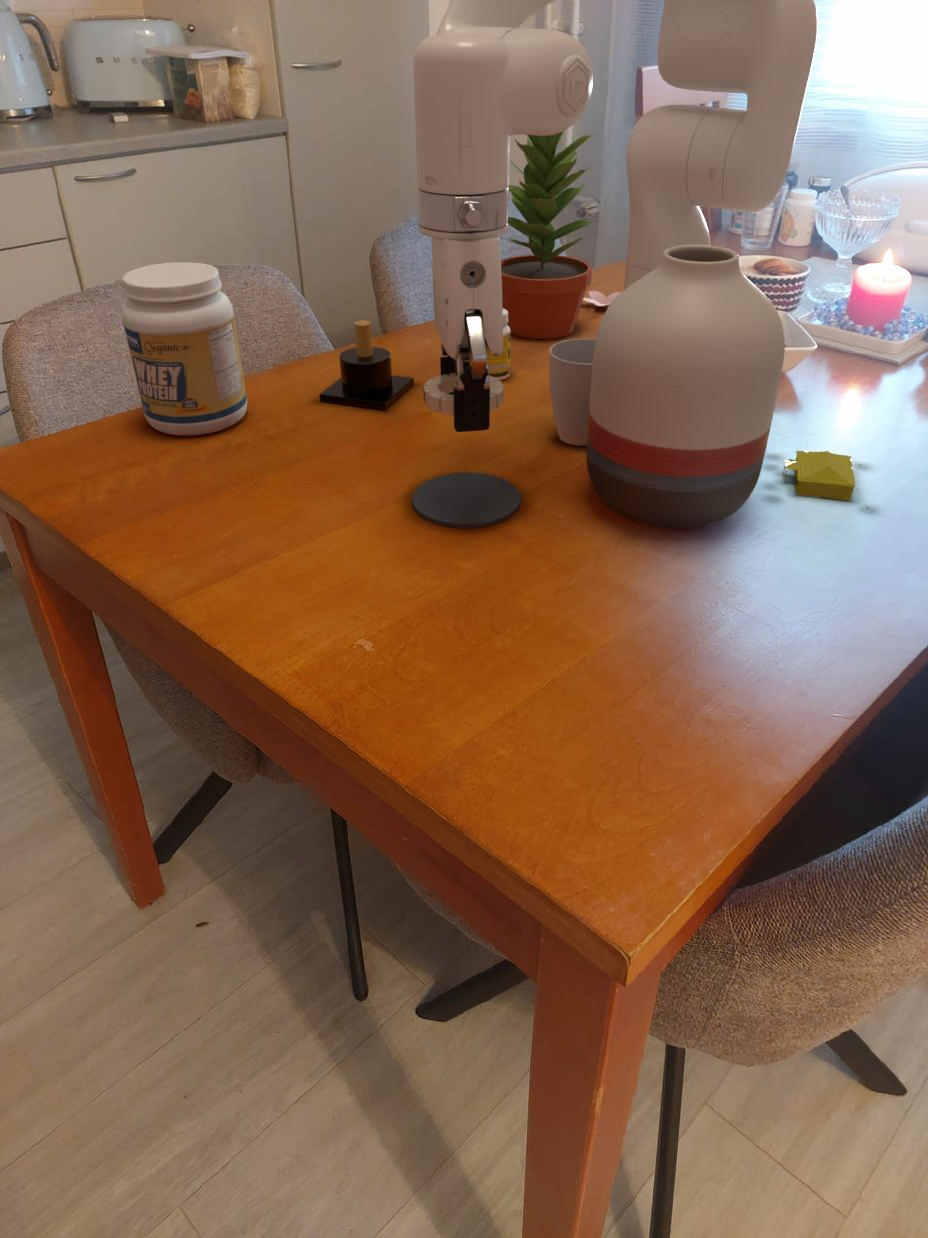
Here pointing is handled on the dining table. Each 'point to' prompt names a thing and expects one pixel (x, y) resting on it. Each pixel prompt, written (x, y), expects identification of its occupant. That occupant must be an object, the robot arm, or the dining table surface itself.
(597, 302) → the flower
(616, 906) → the dining table surface
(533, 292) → the potted plant
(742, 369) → the vase
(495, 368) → the supplement bottle
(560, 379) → the cup
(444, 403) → the ring
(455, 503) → the coaster
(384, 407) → the ring holder
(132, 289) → the supplement tub
